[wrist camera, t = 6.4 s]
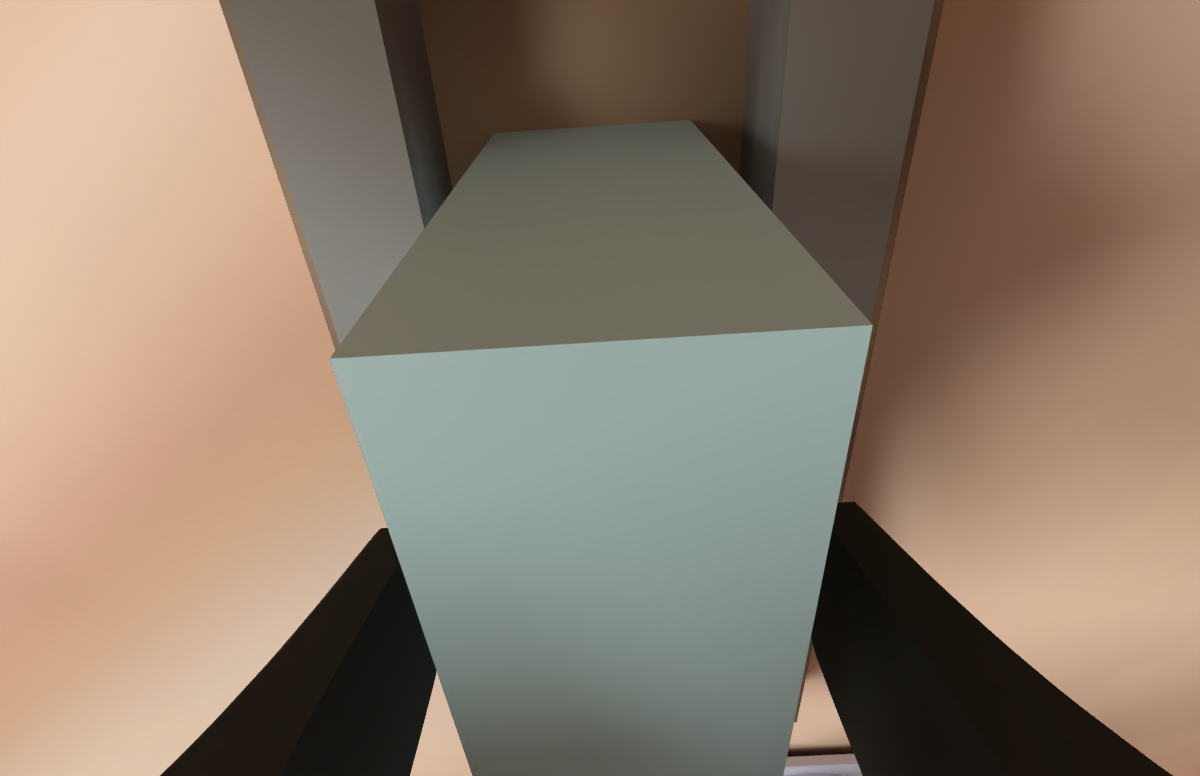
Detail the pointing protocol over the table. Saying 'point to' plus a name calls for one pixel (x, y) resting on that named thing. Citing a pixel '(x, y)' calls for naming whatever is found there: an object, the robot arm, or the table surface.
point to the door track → (584, 113)
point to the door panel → (610, 452)
